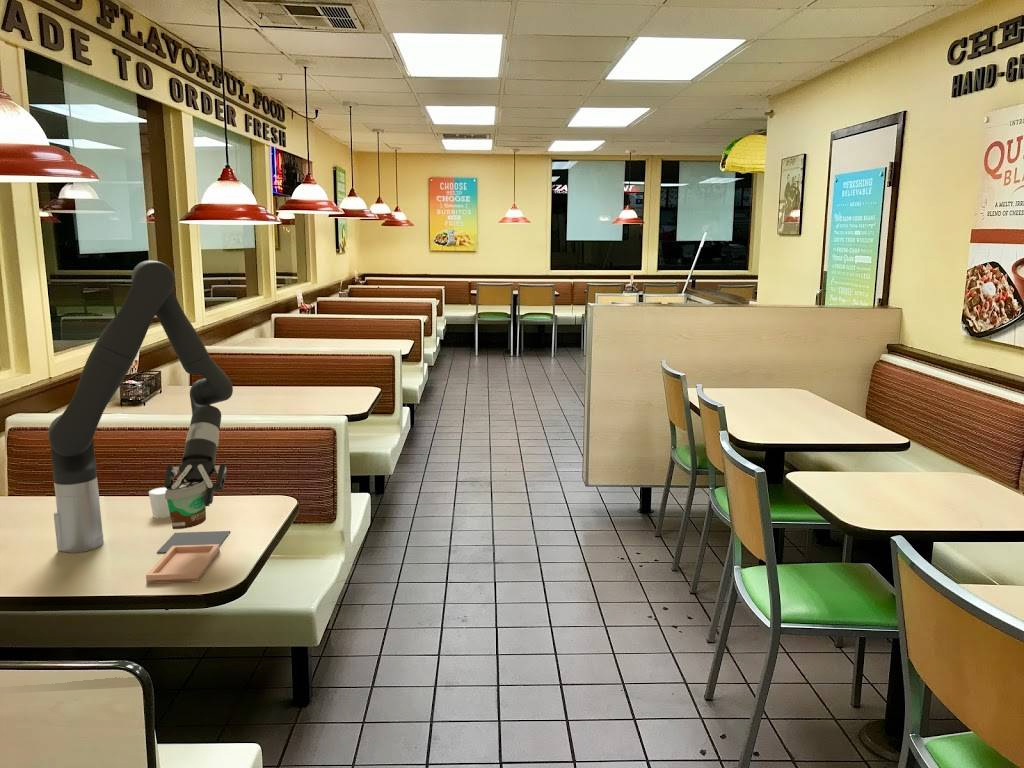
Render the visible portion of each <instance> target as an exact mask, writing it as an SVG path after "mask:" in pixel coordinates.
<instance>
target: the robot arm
mask: <svg viewBox="0 0 1024 768" xmlns="http://www.w3.org/2000/svg"><path fill="white" fill-rule="evenodd" d="M175 283H176V279H175V274H174V272H173V270H172V269H171V268H170V267H169V266H168V265H167V264H165V263H164V262H161V261H158V260H151V259H149V260H148V259H147V260H144V261H141V262H139V263H138V264H136V266H134V268H133V270H132V273H131V285H130V288H129V291H128V293H127V295H126V297H125V300H124V302H123V304H122V306H121V307H120V309H119V310H118V312H117V313H116V314H115V316H114V317H113V318H112V319H111V320H110V322H109V323H108V324H107V326H106V327H105V328H104V329H103V331H102V333H101V334H100V335H99V337H98V338H97V340H96V342H95V344H94V346H93V347H92V349H91V351H90V353H89V355H88V356H87V359H86V361H85V364H84V366H83V370H82V372H81V375H80V378H79V381H78V384H77V386H76V390H75V393H74V394H73V396H72V399H71V400H70V402H69V403H68V404H67V407H66V408H65V409H64V412H63V413H62V414H60V415H58V416H56V418H55V419H53V421H52V422H51V424H50V425H49V429H48V441H49V445H50V446H49V447H50V454H51V466H52V477H53V485H54V492H55V493H54V494H55V502H56V510H57V511H55V512H54V513H53V522H54V529H55V530H54V531H55V539H56V546H57V547H56V548H57V551H58V552H59V551H60V552H63V553H68V554H69V553H71V554H72V553H73V554H74V553H84V552H86V551H87V552H88V551H92V550H94V549H97V548H99V547H101V546H102V545H103V544H104V533H103V532H104V531H103V523H102V522H103V521H102V512H101V503H100V494H99V484H98V483H99V482H98V473H97V471H98V470H97V463H96V455H95V454H96V453H95V442H94V437H95V434H96V431H97V428H98V426H99V424H100V420H101V418H102V416H103V415H104V412H105V409H106V408H107V406H108V405H109V403H110V401H111V400H112V398H113V397H114V395H115V394H116V392H117V391H118V389H119V388H120V386H121V385H122V382H123V381H124V379H125V377H126V376H127V374H128V372H129V371H130V368H131V367H132V365H133V363H134V361H135V359H136V357H137V356H138V353H139V351H140V349H141V347H142V345H143V343H144V340H145V338H146V336H147V332H148V330H149V328H150V325H151V323H152V322H153V320H154V318H155V316H156V318H157V319H158V321H159V324H161V326H162V329H163V330H164V332H165V335H166V336H167V339H168V340H169V343H170V345H171V347H172V349H173V351H174V353H175V355H176V357H177V359H178V360H179V362H180V365H181V366H182V368H183V369H184V371H185V372H186V373H187V374H189V375H200V376H202V377H203V378H201V379H198V380H196V381H194V382H193V383H192V384H191V386H190V390H189V399H190V405H191V407H190V408H191V413H192V414H191V419H190V424H189V429H188V430H187V431H188V432H187V434H186V438H185V439H186V440H185V445H184V450H183V454H182V460H181V462H180V465H179V466H173V465H171V464H170V465H167V466H166V471H165V478H164V486H163V487H165V488H166V489H167V490H174V489H175V488H176V487H178V486H179V485H180V484H182V483H185V482H193V481H203V480H204V481H205V482H206V485H207V486H208V488H207V489H206V490H205V499H204V504H205V506H206V507H210V505H211V504H213V502H214V495H215V492H216V491H221V490H224V488H225V487H224V486H225V481H226V477H227V472H228V469H227V466H226V465H225V463H221V464H219V465H215V463H216V458H217V453H218V452H217V451H218V447H219V443H220V442H219V441H220V430H221V429H220V428H221V422H222V412H221V410H220V409H219V408H218V407H216V406H214V405H215V404H217V403H221V402H225V401H227V400H229V399H230V398H232V395H233V393H234V386H233V383H232V381H231V379H230V378H229V377H228V375H227V374H226V373H225V371H224V370H223V369H222V368H221V367H219V366H218V364H217V363H216V362H215V361H214V360H213V359H212V357H211V356H210V354H209V352H208V350H207V348H206V346H205V344H204V342H203V341H202V339H201V337H200V336H199V334H198V332H197V330H196V329H195V327H194V326H193V325H192V322H191V321H190V320H189V318H188V317H187V316H186V313H185V312H184V310H183V308H182V306H181V305H180V302H179V301H178V298H177V295H176V293H175V290H174V288H175ZM215 471H216V474H217V476H216V480H215V482H214V483H213V482H212V480H211V479H210V477H211V476H212V475H213V474H214V473H215ZM178 473H180V475H178ZM177 475H178V476H177ZM176 476H177V478H176V481H175V482H174V480H175V477H176Z"/></svg>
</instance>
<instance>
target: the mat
mask: <svg viewBox="0 0 1024 768" xmlns="http://www.w3.org/2000/svg"><path fill="white" fill-rule="evenodd" d="M230 531H231V530H219V531H218V530H217V531H215V530H214V531H213V530H212V531H188V532H187V531H185V532H184V531H183V532H174V533H173V534H172V535H170V537H169V538H168V539H167V541H166V542H165V543H164V544H163V545H162V546H161V547H160V548H159V549H158V550H157V551H156V554H166V552H167V551H168V550H169V549H170V548H171V547H172V546H181V545H210V544H219V547H221V546H222V544H223V543H224V542H225V540H226V539H227V538H228V536H229V535H230V534H231V532H230ZM228 534H229V535H228ZM226 537H227V538H226ZM225 538H226V539H225ZM223 541H224V542H223ZM220 545H221V546H220Z"/></svg>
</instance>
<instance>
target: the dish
mask: <svg viewBox="0 0 1024 768" xmlns="http://www.w3.org/2000/svg"><path fill="white" fill-rule="evenodd" d="M220 547H221V546H220ZM220 547H219V544H210V545H181V546H172V547H171V548H170V549H169V550H168V551H167V552H166V553H164V555H163V556H162V557H161V558H160V559H159V560H158V561H157V562H156V564H155V565H154V566H153V567H152V568H151V569H150V570H149V571H148V572H147V573H146V575H145V580H146V581H145V582H146V584H147V583H149V584H151V583H154V584H173V583H174V582H175V583H177V582H180V583H193V582H192V581H198V582H199V581H200V580H201V579H202V577H203V576H204V574H205V573H206V572H207V570H208V569H209V568H210V566H211V565H212V563H213V562H214V561H215V560H216V558H217V557H218V556H219V554H220V553H221V550H220ZM205 571H206V572H205ZM204 572H205V573H204ZM202 575H203V576H202ZM200 578H201V579H200ZM199 579H200V580H199ZM168 582H169V583H168ZM171 582H173V583H171ZM175 583H174V584H175ZM149 584H148V585H149Z"/></svg>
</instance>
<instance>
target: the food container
mask: <svg viewBox="0 0 1024 768" xmlns="http://www.w3.org/2000/svg"><path fill="white" fill-rule="evenodd" d="M206 489H208V486H207V485H206V482H205V481H204V480H203V481H193V482H185V483H182V484H180V485H179V486H178V487H176V488H175V489H174V490H165V492H166V493H165V499H167V503H168V508H169V513H170V522H171V526H172V528H171V529H172V530H184V529H190V528H193V527H197V526H199V525H201V524H203V523H205V521H206V519H207V514H206V511H207V510H206V509H207V508H206V507H207V506H205V504H204V499H205V494H206Z"/></svg>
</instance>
